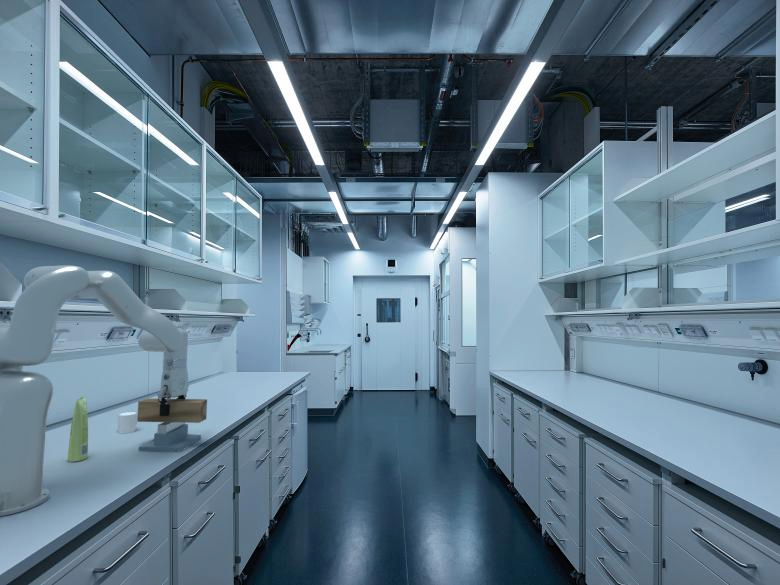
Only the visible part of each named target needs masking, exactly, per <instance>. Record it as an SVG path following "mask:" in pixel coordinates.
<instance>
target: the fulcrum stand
mask: <svg viewBox="0 0 780 585" xmlns="http://www.w3.org/2000/svg"><path fill="white" fill-rule="evenodd" d="M156 430H157V431H156V432H155V433H154V436H153V439H151V440H150V441H147V442H145V443H143V444H141V445H139V446H138V452H160V453H161V452H165V453H166V452H167V453H168V452H169V453H171V452H170V451H180V452H181V450H182V451H183V450H185V449H186V447H187V446H188V447H190V446H191V445H193V444H194V442H195V443H196V442H198V441H199V439H200V438H201V439H202V434H194V433H193V434H192V433H191V434H189V433H188V432H189V423H183V422H160V423H159V424H157V428H156ZM201 439H200V440H201ZM197 440H198V441H197ZM192 443H193V444H192ZM189 445H190V446H189ZM188 447H187V448H188ZM184 448H185V449H184Z"/></svg>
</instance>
